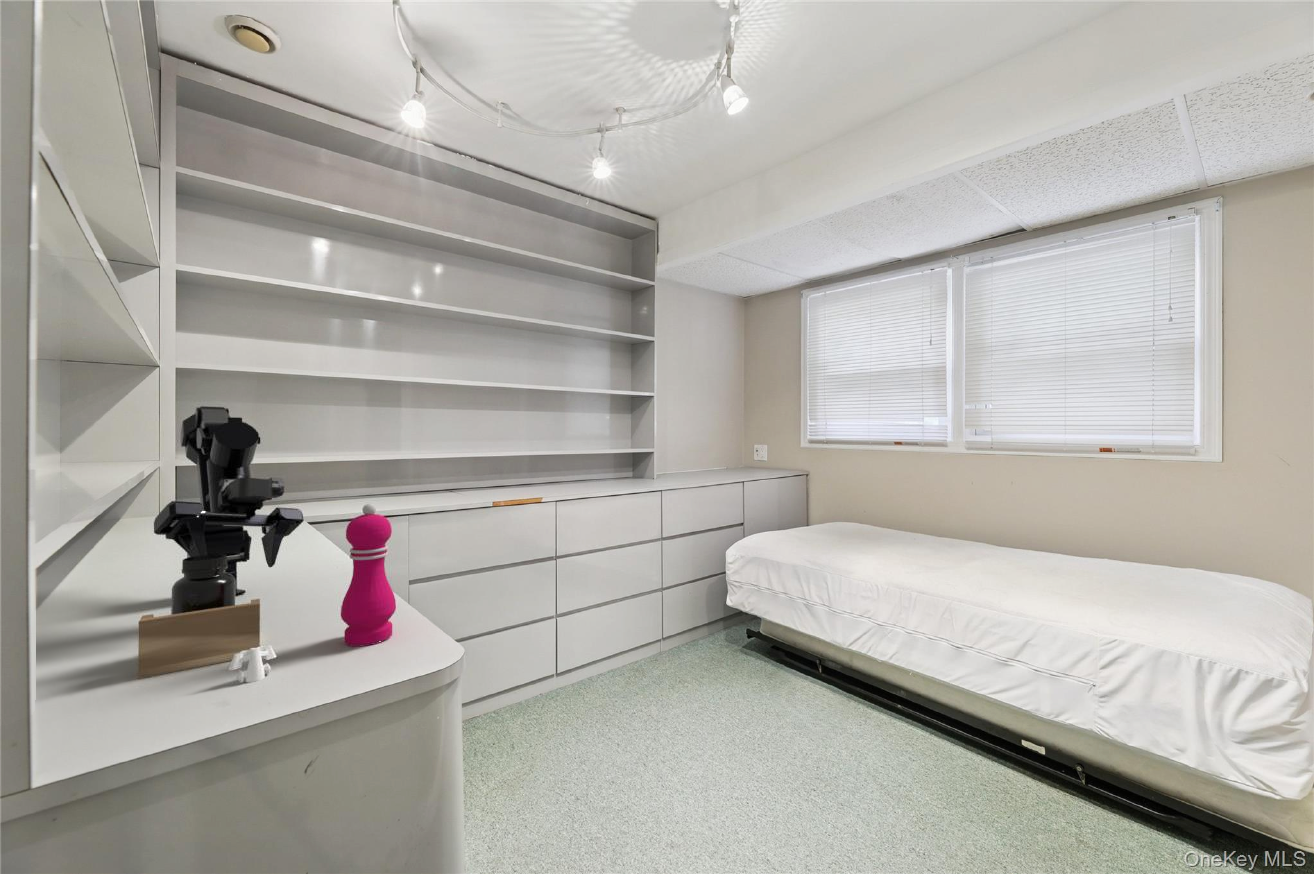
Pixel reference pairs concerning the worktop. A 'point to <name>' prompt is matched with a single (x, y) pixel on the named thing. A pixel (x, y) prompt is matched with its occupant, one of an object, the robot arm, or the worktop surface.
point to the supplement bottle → (203, 585)
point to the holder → (196, 638)
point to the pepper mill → (368, 581)
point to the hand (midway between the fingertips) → (239, 566)
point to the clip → (253, 663)
